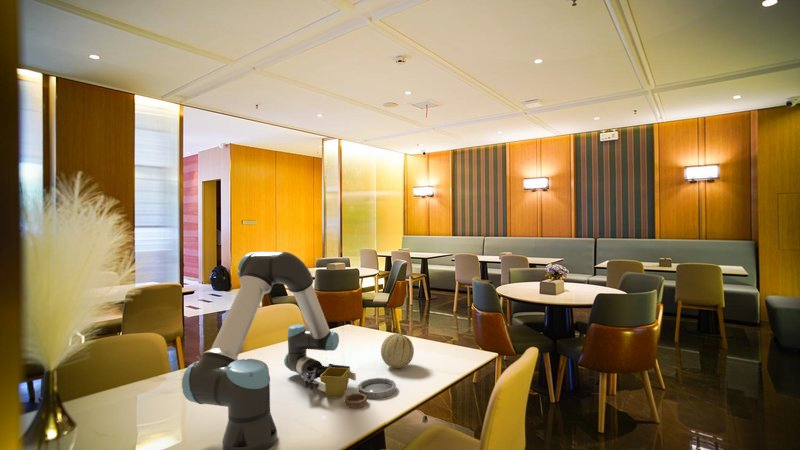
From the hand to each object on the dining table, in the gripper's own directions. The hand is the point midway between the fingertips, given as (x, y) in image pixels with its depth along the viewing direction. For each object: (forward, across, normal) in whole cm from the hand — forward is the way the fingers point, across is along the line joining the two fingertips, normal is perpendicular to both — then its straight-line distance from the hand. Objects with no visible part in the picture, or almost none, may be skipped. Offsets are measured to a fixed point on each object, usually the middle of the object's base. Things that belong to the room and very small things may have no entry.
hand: (340, 382), depth 146 cm
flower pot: (-3, 0, -6) cm, 7 cm away
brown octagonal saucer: (+8, -1, -6) cm, 10 cm away
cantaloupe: (-7, -36, -6) cm, 37 cm away
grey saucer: (+5, -14, -6) cm, 16 cm away
